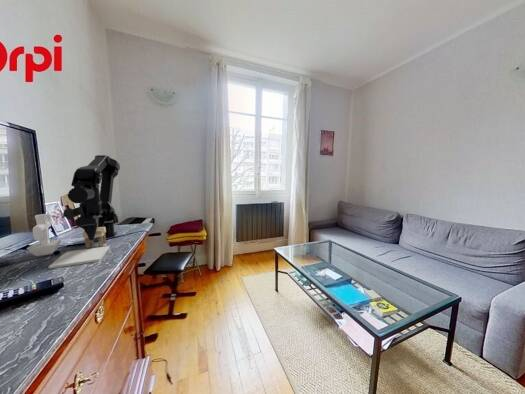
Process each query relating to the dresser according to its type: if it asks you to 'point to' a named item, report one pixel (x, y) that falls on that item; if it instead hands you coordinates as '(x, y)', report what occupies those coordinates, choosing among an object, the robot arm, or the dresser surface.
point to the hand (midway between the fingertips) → (95, 236)
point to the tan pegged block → (99, 233)
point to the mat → (80, 257)
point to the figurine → (43, 237)
